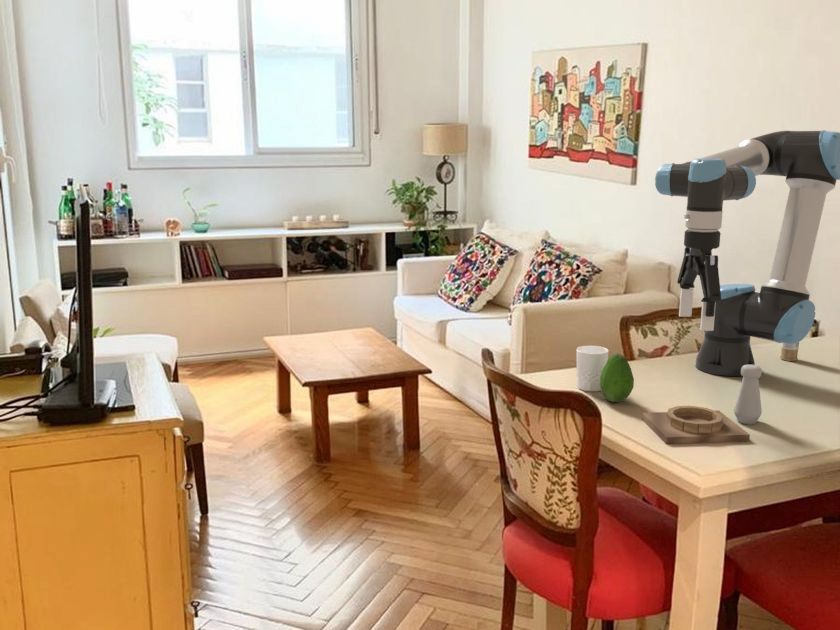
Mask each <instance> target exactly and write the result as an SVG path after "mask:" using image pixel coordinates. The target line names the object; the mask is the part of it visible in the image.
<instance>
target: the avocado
mask: <svg viewBox="0 0 840 630" xmlns="http://www.w3.org/2000/svg"><path fill="white" fill-rule="evenodd" d="M630 365H631V364H630V363H629V361H628V360H627V358H626V357H625V356H624V355H622V354H620V353H614V354H611V355H610V356H609V357H608V361H607V363H606V365H605V366H604V368H603V371H602V373H601V376H600V387H601V391H600V392H601V394H602V395H603V397H604V398H605V399H606V400H607V401H610V402H613V403H620V402H623V401H624V400H626V399H627V398H628V397H630V395H631V393H632V391H633V389H634V384H635V378H634V376H633V375H634V374H633V371H632V368H631V366H630Z"/></svg>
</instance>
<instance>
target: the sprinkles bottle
mask: <svg viewBox="0 0 840 630" xmlns="http://www.w3.org/2000/svg"><path fill="white" fill-rule="evenodd" d="M799 345H800V342H798V343H795V344H788V343H781V350H780V351H781V352H780V359H781V360H784V361H786V362H787V361H788V362H795V361H798V360H799V359H798V355H799V354H798V353H799V348H800V346H799Z"/></svg>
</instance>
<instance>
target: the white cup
mask: <svg viewBox="0 0 840 630" xmlns="http://www.w3.org/2000/svg"><path fill="white" fill-rule="evenodd" d="M609 351H610V350H609V349H608V348H606V347H604V346H600V345H582V346H578V347H577V348H576V377H577V378H576V379H577V381H576V383H577V385H576V387H577V389H579V390H582V391H585V392H602V391H601V387H600V376H601V373H602V371H603V368H604V366H605V365H606V363H607V361H608V359H609Z"/></svg>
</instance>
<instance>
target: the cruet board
mask: <svg viewBox="0 0 840 630" xmlns="http://www.w3.org/2000/svg"><path fill="white" fill-rule="evenodd" d="M641 420H642V422H644V423H645V424H646V425H647V426H648V427H649V428H650V430H652V431H653V433H655V434H656V436H658V437H659V438H660V440H662V441H663V443H665V445H675V444H676V445H677V444H678V445H679V444H703V443H704V444H709V443H712V444H713V443H734V442H736V443H737V442H740V443H741V442H750V436H751V435H750V433H749V432H748V431H746V430H744V428H742V427H741V426H740V425H739V424H737V423H736V422H735V421H733V420H732V419H731V418H729V417H728V416H727V415H726V414H724V413H723V412H722V411H720V410H718V409H717V410H713V409H711V408H709V407H708V408H707V407H703V406H695V405H678V406H673V407H670V408H668V410H667V411H663V412H662V411H661V412H660V411H659V412H658V411H657V412H655V411H654V412H642V413H641Z"/></svg>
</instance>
